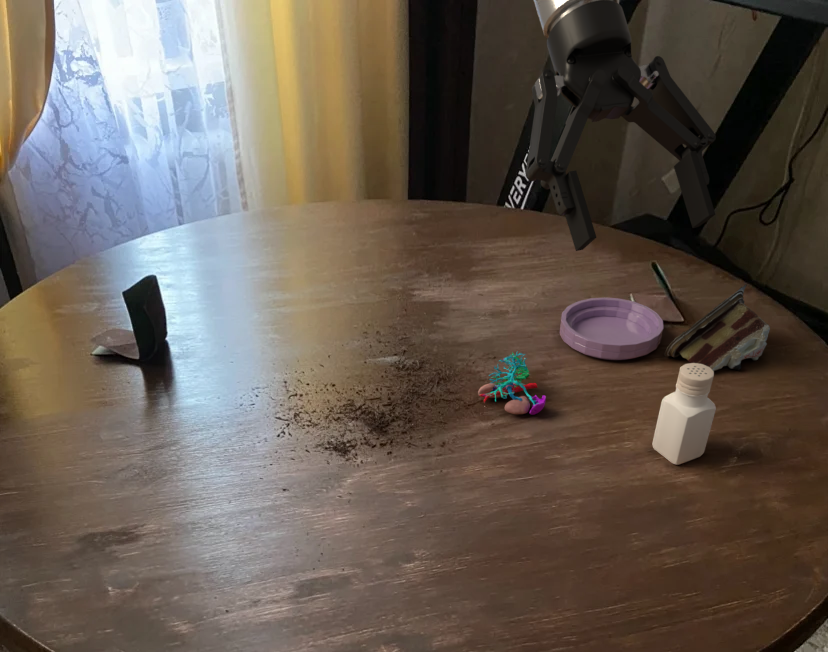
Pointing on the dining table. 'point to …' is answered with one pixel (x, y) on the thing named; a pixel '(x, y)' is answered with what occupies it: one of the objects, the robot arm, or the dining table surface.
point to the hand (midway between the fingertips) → (646, 233)
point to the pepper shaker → (686, 416)
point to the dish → (611, 328)
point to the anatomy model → (513, 388)
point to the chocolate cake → (723, 336)
